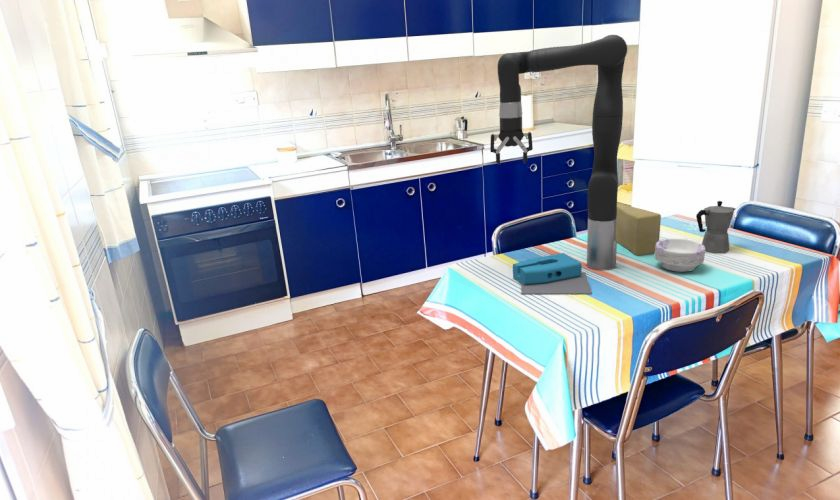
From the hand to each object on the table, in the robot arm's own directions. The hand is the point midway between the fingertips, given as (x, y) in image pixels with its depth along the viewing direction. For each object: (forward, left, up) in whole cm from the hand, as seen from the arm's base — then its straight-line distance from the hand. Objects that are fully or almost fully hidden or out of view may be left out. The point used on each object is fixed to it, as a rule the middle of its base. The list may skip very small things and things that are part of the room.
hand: (511, 163), depth 193 cm
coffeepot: (-71, -10, -36) cm, 80 cm away
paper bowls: (-55, +7, -36) cm, 66 cm away
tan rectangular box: (-43, -16, -36) cm, 59 cm away
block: (-2, +20, -33) cm, 39 cm away
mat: (-13, +21, -36) cm, 44 cm away
